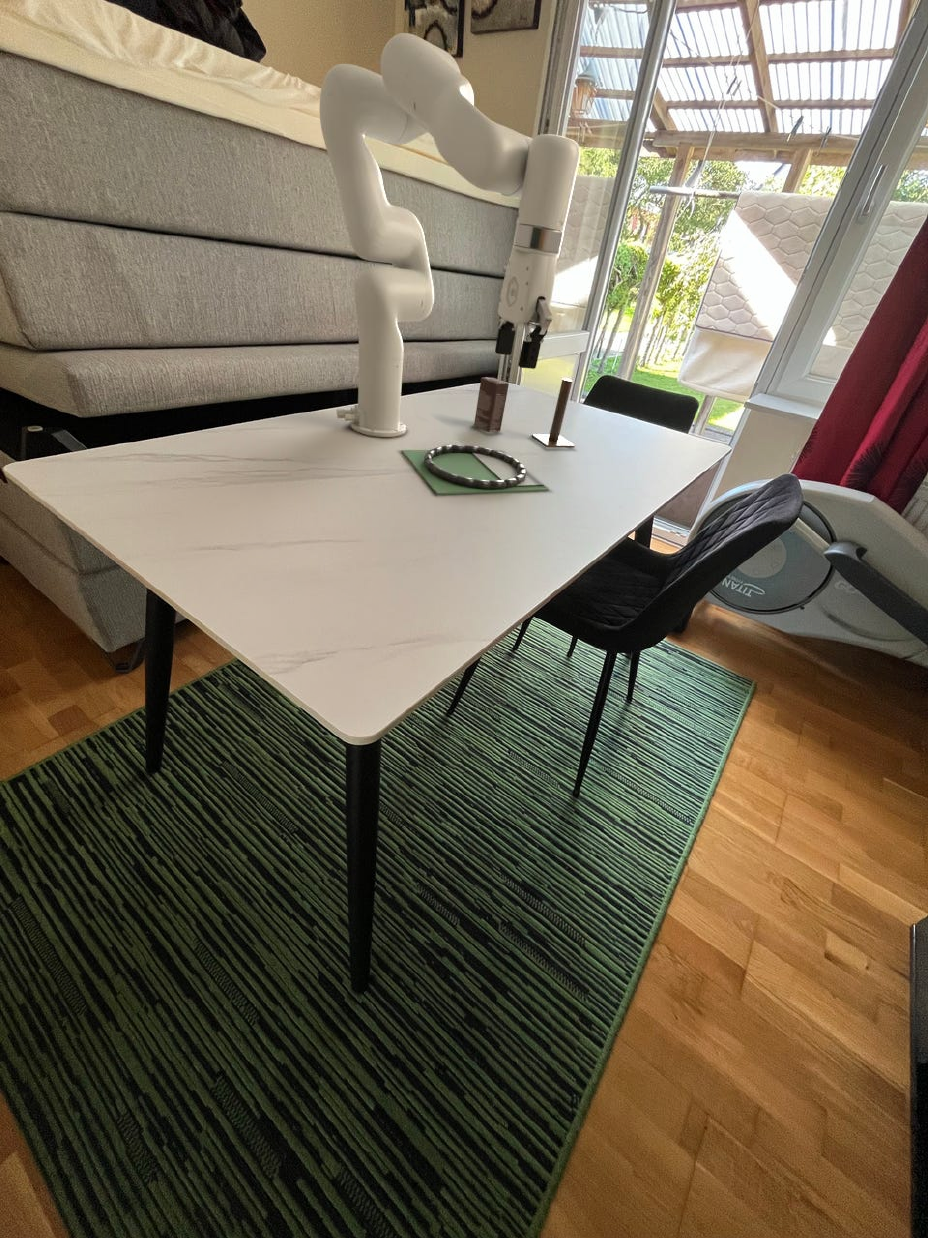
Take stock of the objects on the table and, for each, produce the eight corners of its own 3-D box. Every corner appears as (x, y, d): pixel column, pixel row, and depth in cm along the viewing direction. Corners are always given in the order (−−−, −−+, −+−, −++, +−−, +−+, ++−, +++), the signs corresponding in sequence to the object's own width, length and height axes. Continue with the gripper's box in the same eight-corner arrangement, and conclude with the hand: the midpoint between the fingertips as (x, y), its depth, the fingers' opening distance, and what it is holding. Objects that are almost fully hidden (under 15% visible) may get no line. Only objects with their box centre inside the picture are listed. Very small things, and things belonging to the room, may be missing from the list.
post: (546, 450, 125) (562, 383, 116) (530, 438, 131) (544, 374, 122) (573, 450, 128) (590, 385, 119) (557, 439, 134) (572, 376, 125)
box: (500, 433, 131) (509, 383, 124) (487, 435, 128) (496, 383, 121) (485, 426, 134) (493, 376, 127) (472, 427, 132) (479, 376, 125)
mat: (437, 495, 95) (437, 493, 94) (401, 451, 110) (401, 450, 110) (548, 490, 104) (548, 489, 104) (500, 451, 120) (501, 449, 119)
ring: (446, 492, 95) (447, 484, 94) (410, 451, 110) (410, 443, 109) (543, 488, 103) (545, 481, 102) (498, 450, 118) (499, 443, 118)
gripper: (493, 234, 86) (476, 347, 96) (542, 243, 74) (517, 372, 84) (532, 241, 89) (512, 350, 99) (586, 251, 76) (556, 375, 87)
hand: (514, 360), depth 91 cm, fingers open, 9 cm apart
